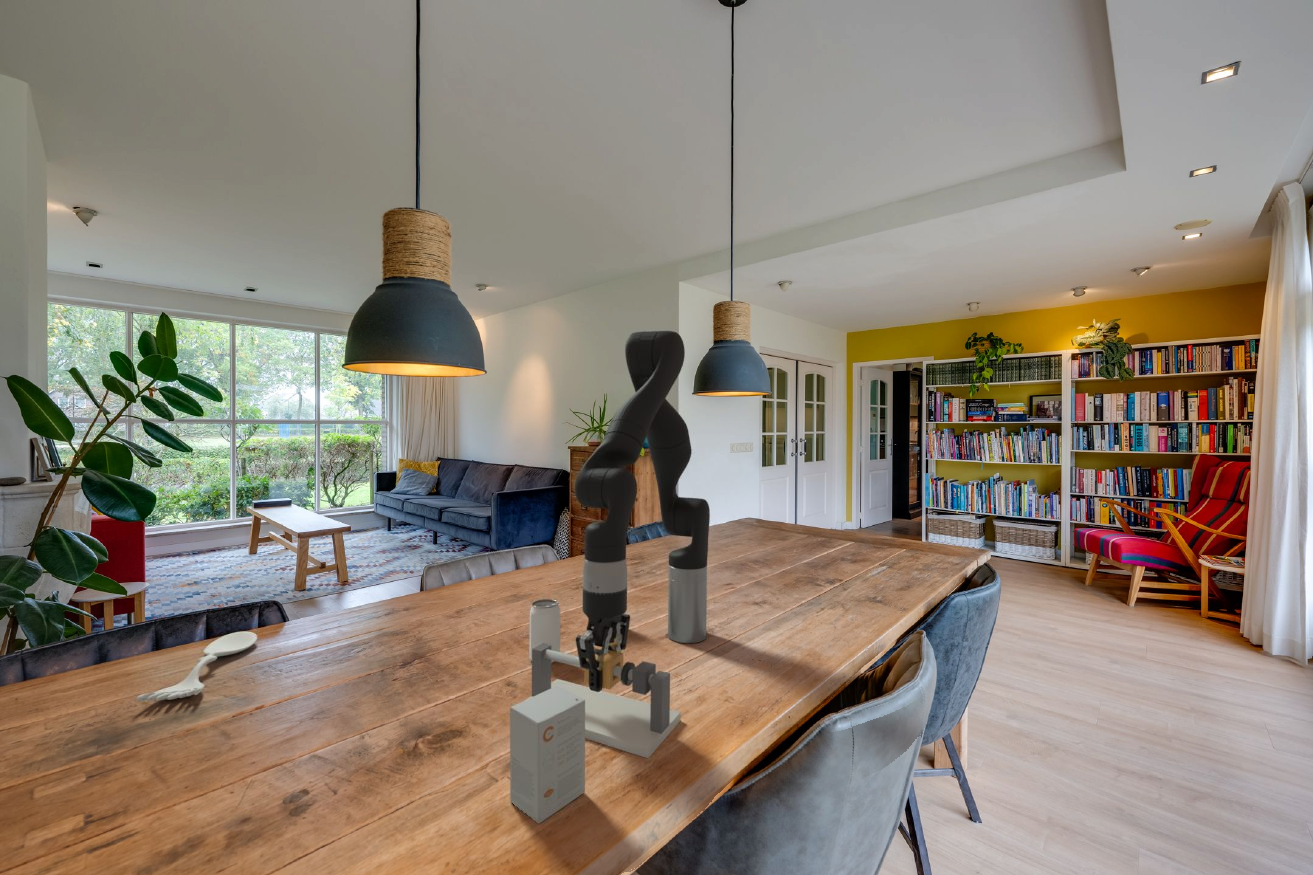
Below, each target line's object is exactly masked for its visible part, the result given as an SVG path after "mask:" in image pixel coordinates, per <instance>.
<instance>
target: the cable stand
mask: <svg viewBox="0 0 1313 875" xmlns="http://www.w3.org/2000/svg"><path fill="white" fill-rule="evenodd" d="M551 660H553V661H556V662H558V663H563V664H566V665H570V666H573V667H578V668H581V667H580V662H579V656H577V655H573V654H571V653H570V654H569V653H565V652H561V651H560V652H558V651H553V650H551V645H548V644H544V643H542V644H540V645H538V646H537V647H535V648H533V649H532V661H531V696H529V697H528V698H526V699H525V700H527V699H529V698H532V697H534V696H536V695H538V694H540V693H542V692H544V691H547V690H549V689H551V688H553V687H555V686H557V687H560V688H562V689H564V690H566V691H568V692H570V693H572V694H574V695H577V696H579V697H580V698H582V699H584V700H585V740H586V739H587V740H589V741H592V742H596V743H599V744H602V745H605V746H609V747H611V748H613V749H616V750H617V749H618V750H620V751H624V752H627V753H630V754H633V755H635V756H639V757H643V758H646V759H650V757H652V755H653V754H654V752H655V751H656V750H657V749H658V748H659V747H660V745H662V743H663V742H664V741H665V739H667V737H668V736H669V735H670V734H671V732H672V731H674V729H675V728H676V727H677V726H678V724H679V723H680V722H681V719H682V718H681V714H682V712H681V711H679V710H674V709H673V708H672V709H670V708H671V672H666V671H663V670H658V671H657V672H656V670H657V669H656V668H657V667H656V666H657V665H656V663H653V662H648V661H641V662H640V663H639V664H637V665H635V663H634V662H629V661H627V662H624V664H623V667H620V666H616V665H615V666H613V676H617V677H621V681H620V683H621V685H622V686H627V687H629V686H632V687H631V690H632V691H631V692H633V693H636V694H641V695H643V696H646V695H647V694H648V693H649V692H650V703H648V702H645V701H641V700H637V699H633V698H630V697H626V696H622V695H618V694H616V693H611V692H608V691H605V690H601V691H600V692H596V691H592V690H590V688H589V686H584V685H581V684H578V683H573V682H570V681H567V680H563V679H560V678H557V679H554V680H553V681H552V663H551Z"/></svg>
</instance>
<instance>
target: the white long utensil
mask: <svg viewBox="0 0 1313 875" xmlns="http://www.w3.org/2000/svg"><path fill="white" fill-rule="evenodd" d="M257 641H258V635H257V634H256V633H255V632H251V631H236V632H232V633H229V634H225V635H223V636H220V637H219V638H218V639H215V640H213V641H212V642H211V643H209V644H208V645H206V647H205V648H204V649H203V651H202V653H203V654H204V656H202V657H200V658H198V659H197V664H196V665H195V666H194V668H192V670H191V672H189V674H188V675H187V676H186V677H185V679H183V680H182V681H180V682H179V683H176V684H175V685H172V686H169V687H165V688H162V689H159V690H156V691H155V692H149V693H142V694H139V695H138V696H137V697H136V702H138V703H140V702H143V701H148V702H150V701H157V702H159V701H163V700H175V699H178V698H179V699H182V698H187V697H191V696H193V695H194V696H197V695H199V694H200V693H201V691H202V690H203V689H204V688H205V686H206V685H205V684H204V683H203V682H201V681H200V679H199V678H200V674H201V672H202V670H203V668H204V667H205V666H206V665H208V664H210V663H212V662H214V661H217V659H218V657H224V656H230V655H235V654H237V653H240V652H243V651H245V650H247V649H249V648H250V647H252V646H253V645H254V644H255V643H256V642H257Z"/></svg>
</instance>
